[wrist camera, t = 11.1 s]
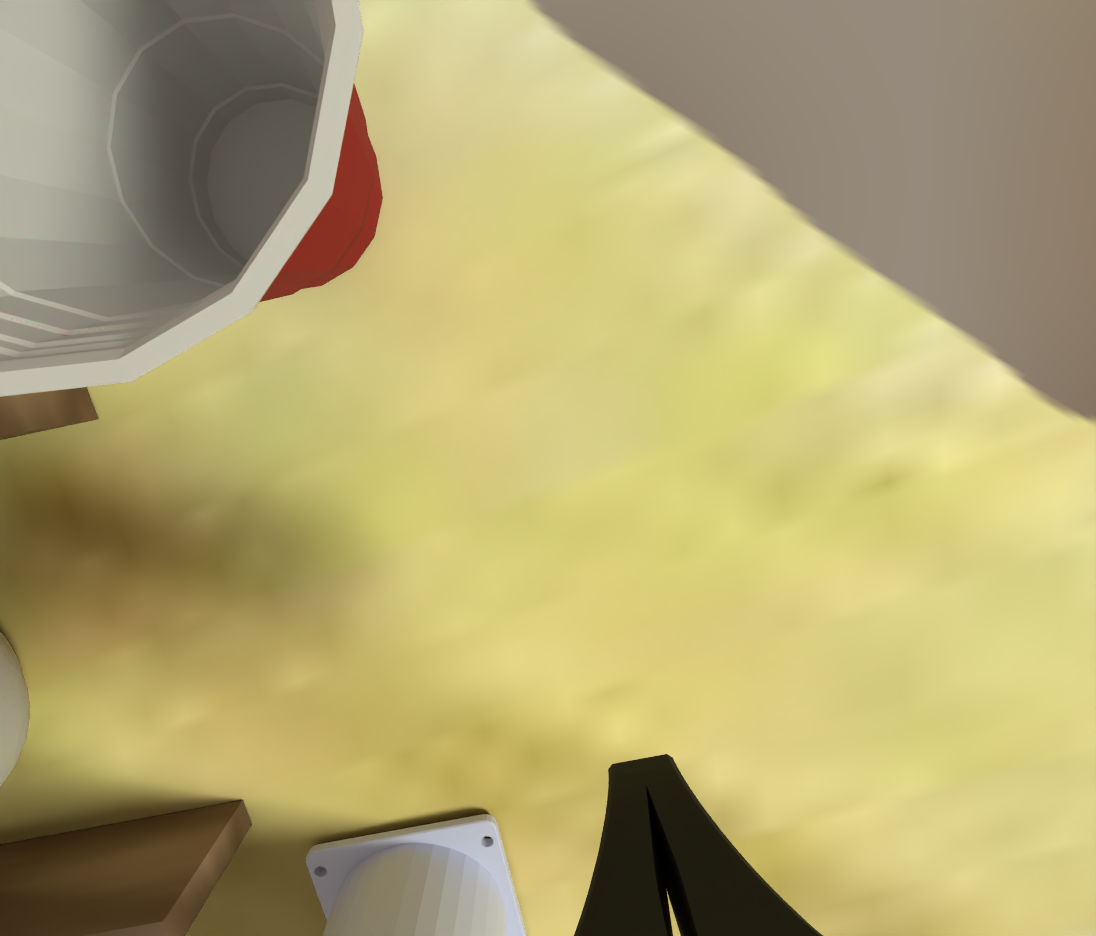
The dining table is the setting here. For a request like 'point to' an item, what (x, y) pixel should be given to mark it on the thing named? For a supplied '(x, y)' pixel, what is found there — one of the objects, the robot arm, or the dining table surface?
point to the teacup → (11, 709)
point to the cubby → (119, 849)
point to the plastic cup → (170, 175)
